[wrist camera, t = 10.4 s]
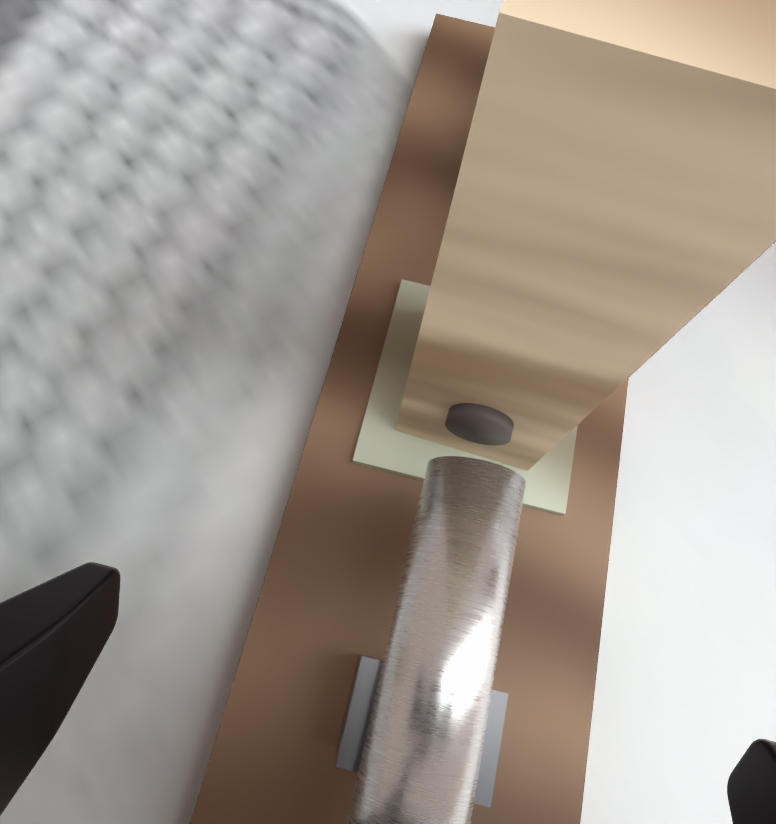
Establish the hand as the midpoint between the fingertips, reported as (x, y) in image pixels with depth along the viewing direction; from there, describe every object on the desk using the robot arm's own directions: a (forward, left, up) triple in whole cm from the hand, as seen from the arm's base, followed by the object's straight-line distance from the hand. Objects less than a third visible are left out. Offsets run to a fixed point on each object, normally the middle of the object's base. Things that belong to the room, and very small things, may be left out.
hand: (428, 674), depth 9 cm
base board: (+9, 0, -11) cm, 14 cm away
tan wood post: (+9, 0, -9) cm, 13 cm away
